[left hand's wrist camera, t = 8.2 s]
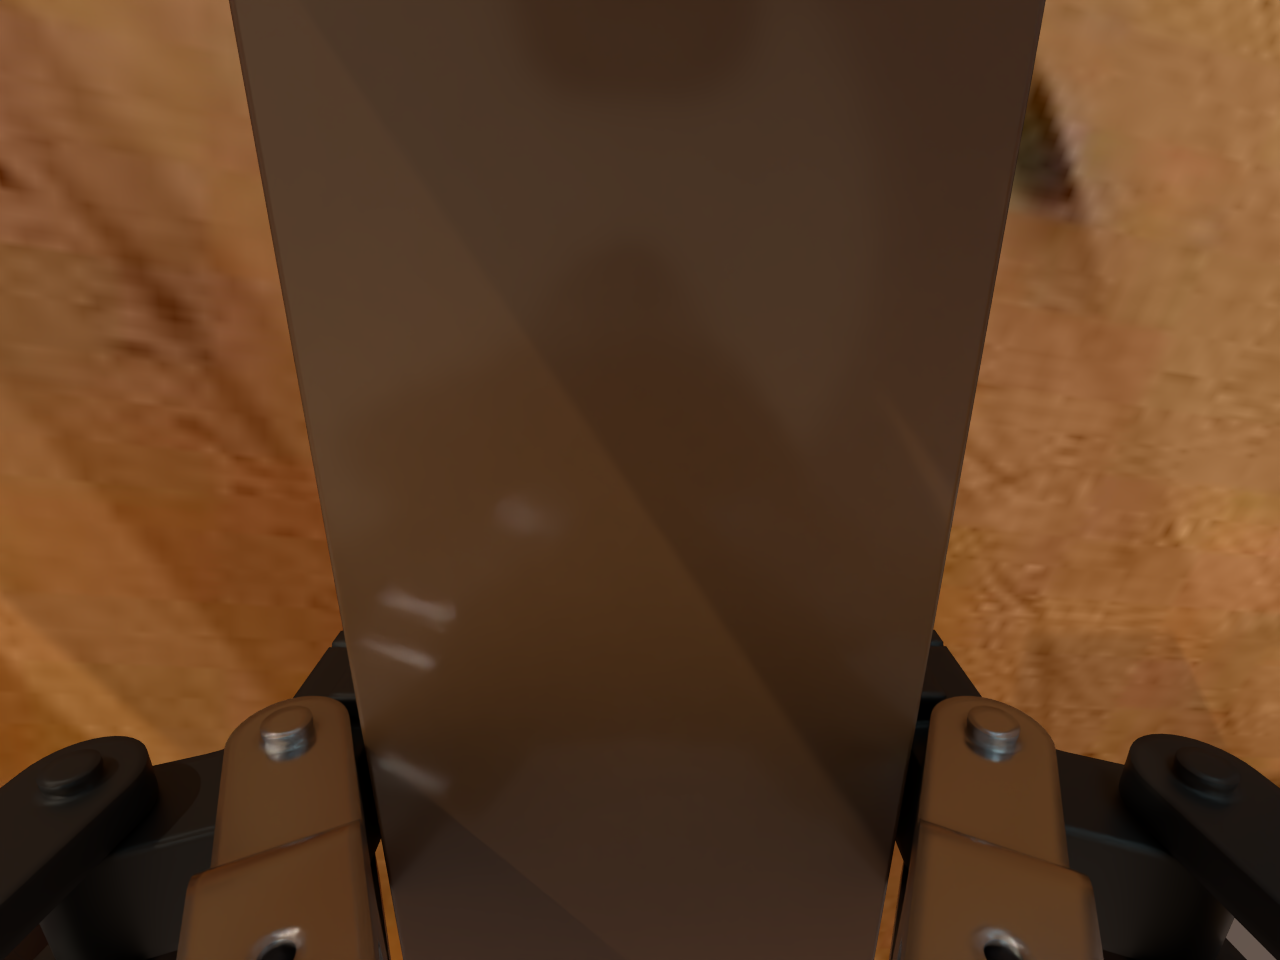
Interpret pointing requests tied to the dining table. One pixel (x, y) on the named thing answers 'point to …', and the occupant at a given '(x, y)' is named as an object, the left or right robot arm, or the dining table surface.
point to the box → (637, 436)
